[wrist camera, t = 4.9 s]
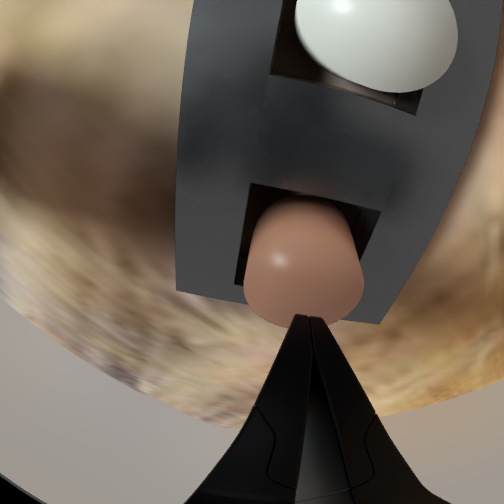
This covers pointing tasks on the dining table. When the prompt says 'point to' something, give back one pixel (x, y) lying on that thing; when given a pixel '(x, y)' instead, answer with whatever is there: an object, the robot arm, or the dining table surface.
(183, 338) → the dining table surface
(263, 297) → the terracotta button
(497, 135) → the dining table surface
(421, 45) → the white button
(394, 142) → the button panel
